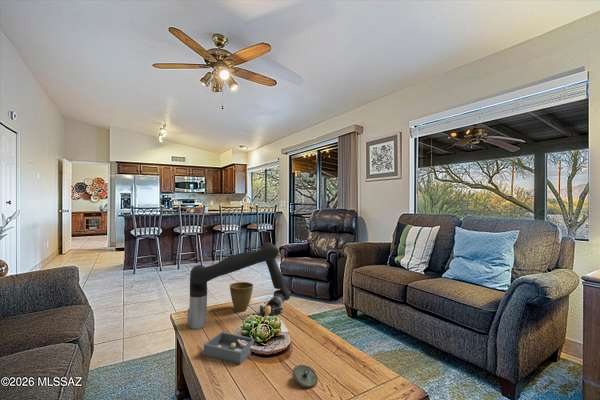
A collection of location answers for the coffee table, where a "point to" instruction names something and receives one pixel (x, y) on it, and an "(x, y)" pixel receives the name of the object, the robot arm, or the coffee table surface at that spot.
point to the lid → (305, 376)
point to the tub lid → (283, 327)
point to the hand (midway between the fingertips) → (266, 315)
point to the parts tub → (228, 348)
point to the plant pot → (241, 295)
